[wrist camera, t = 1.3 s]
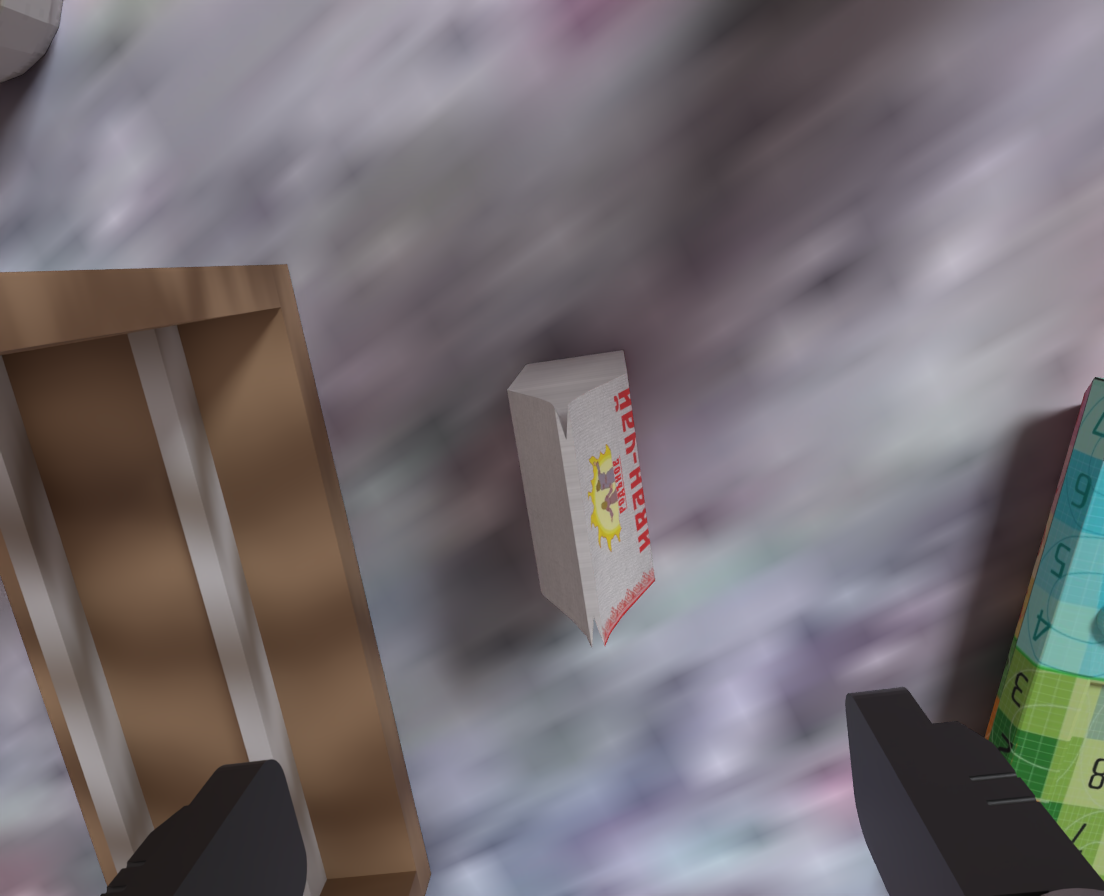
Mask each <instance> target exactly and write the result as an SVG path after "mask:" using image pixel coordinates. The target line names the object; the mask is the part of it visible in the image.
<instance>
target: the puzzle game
mask: <svg viewBox="0 0 1104 896" xmlns="http://www.w3.org/2000/svg"><path fill="white" fill-rule="evenodd" d="M985 739H987V740H989V741H990V742H992V743H993V744H994V745H995V746H996V748H997V749H998V750H999V751H1000V753H1001V754H1002V755H1003V756H1004V758H1005V759H1006V760H1007V761H1008V763H1009V764H1010V765H1011V766H1012V767H1013V769H1014V770H1015V771H1016V775H1017V777H1021V779H1022V780H1023V781H1024V782H1025V784H1026V785H1027V786H1028V787H1029V789H1030V790H1031V791H1032V792H1033V794H1034V795H1035V798H1036V801H1037V802H1041V804H1042V805H1043V806H1044V807H1045V809H1046V810H1047V811H1048V812H1049V814H1050V815H1051V816H1052V817H1053V819H1054V820H1055V821H1056V822H1057V824H1058V825H1059V826H1060V827H1061V829H1062V830H1063V831H1064V832H1065V834H1066V835H1067V836H1068V837H1069V839H1070V840H1071V841H1072V842H1073V844H1074V845H1075V846H1076V847H1077V849H1078V850H1079V851H1080V852H1081V854H1082V855H1083V856H1084V857H1085V859H1086V860H1087V861H1088V862H1089V864H1090V865H1091V866H1092V867H1093V869H1094V870H1095V871H1096V872H1097V874H1098V875H1099V876H1100V877H1101V879H1102V880H1103V881H1104V378H1098V377H1095V378H1094V379H1093V381H1092V383H1091V384H1090V386H1089V387H1088V389H1087V390H1086V392H1085V393H1084V397H1083V400H1082V404H1081V407H1080V411H1079V414H1078V417H1077V421H1076V424H1075V428H1074V431H1073V435H1072V438H1071V442H1070V445H1069V448H1068V452H1067V455H1066V459H1065V462H1064V466H1063V469H1062V473H1061V476H1060V479H1059V483H1058V486H1057V490H1056V493H1055V497H1054V500H1053V503H1052V507H1051V510H1050V514H1049V517H1048V521H1047V524H1046V528H1045V531H1044V534H1043V538H1042V541H1041V545H1040V548H1039V552H1038V555H1037V559H1036V562H1035V565H1034V569H1033V572H1032V576H1031V579H1030V583H1029V586H1028V590H1027V593H1026V596H1025V600H1024V603H1023V607H1022V610H1021V614H1020V617H1019V621H1018V624H1017V627H1016V631H1015V634H1014V638H1013V641H1012V645H1011V648H1010V652H1009V655H1008V658H1007V662H1006V665H1005V669H1004V672H1003V676H1002V679H1001V683H1000V686H999V689H998V693H997V696H996V700H995V703H994V707H993V710H992V714H991V717H990V720H989V724H988V727H987V731H986V734H985Z"/></svg>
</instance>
